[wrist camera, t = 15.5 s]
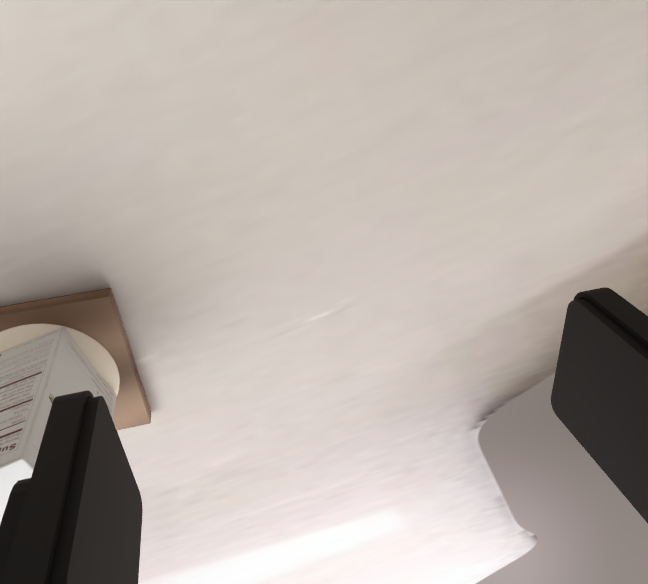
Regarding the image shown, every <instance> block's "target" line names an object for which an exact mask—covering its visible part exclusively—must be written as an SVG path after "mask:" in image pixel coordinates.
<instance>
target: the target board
mask: <svg viewBox="0 0 648 584" xmlns="http://www.w3.org/2000/svg"><path fill="white" fill-rule="evenodd" d="M62 327H65V328H66V329H67V330H68V332H69V333H70V335H71V336H72V338H73V339H74V341H75V342H76V344H77V345H78V346H79V348H80V349H81V350H82V352H83V353H84V355H85V356H86V357H87V359H88V360H89V361H90V363H91V364H92V365H93V367H94V368H95V369H96V371H97V372H98V373H99V375H100V376H101V377H102V378H103V380H104V381H105V382H106V383H107V384H108V386H109V387H110V388H111V389H112V390H113V391H114V393H115V394H116V395H117V397H116V404H115V411H114V418H113V422H114V425H115V428H116V430H121V429H125V428H130V427H135V426H140V425H144V424H149V423H150V422H151V412H150V408H149V405H148V402H147V399H146V396H145V393H144V390H143V387H142V384H141V381H140V377H139V374H138V371H137V368H136V365H135V362H134V359H133V356H132V353H131V350H130V346H129V343H128V340H127V337H126V334H125V331H124V328H123V325H122V322H121V318H120V315H119V312H118V309H117V306H116V303H115V300H114V297H113V294H112V291H111V288H109V289H103V290H97V291H92V292H86V293H80V294H74V295H68V296H63V297H57V298H51V299H45V300H39V301H34V302H28V303H22V304H16V305H11V306H5V307H0V352H2V351H5V350H8V349H10V348H12V347H15V346H17V345H20V344H22V343H25V342H27V341H29V340H32V339H34V338H37V337H39V336H42V335H44V334H46V333H49V332H51V331H54V330H57V329H59V328H62Z"/></svg>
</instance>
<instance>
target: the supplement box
mask: <svg viewBox="0 0 648 584" xmlns="http://www.w3.org/2000/svg"><path fill="white" fill-rule="evenodd" d="M87 390H88V391H90V392H91V393H92V394H93V397H97V396H103V397H104V399H105V401H106V404H107V406H108V409H109V412H110V414H111V417H112V420H113V418H114V411H115V404H116V397H117V395H116V394H115V393H114V391H113V390H112V389H111V388H110V387H109V386H108V384H107V383H106V382H105V381H104V380H103V378H102V377H101V376H100V375H99V373H98V372H97V371H96V369H95V368H94V367H93V365H92V364H91V363H90V361H89V360H88V359H87V357H86V356H85V355H84V353H83V352H82V350H81V349H80V348H79V346H78V345H77V344H76V342H75V341H74V339H73V338H72V336H71V335H70V333H69V332H68V330H67V329H66V328H65V327H62V328H59V329H57V330H54V331H51V332H49V333H46V334H44V335H42V336H39V337H37V338H34V339H32V340H29V341H27V342H25V343H22V344H20V345H17V346H15V347H12V348H10V349H8V350H5V351H2V352H0V524H1V521H2V517H3V514H4V511H5V508H6V505H7V502H8V498H9V495H10V492H11V490H12V488H13V486H14V484H15V483H16V482H17V481H18V480H23V479H28V478H31V477H32V473H33V470H34V466H35V463H36V459H37V456H38V452H39V449H40V445H41V442H42V438H43V434H44V431H45V427H46V424H47V420H48V417H49V413H50V410H51V406H52V403H53V400H54V398H55V397H57V396H62V395H67V394H72V393H77V392H82V391H87Z"/></svg>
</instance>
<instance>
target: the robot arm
mask: <svg viewBox="0 0 648 584" xmlns="http://www.w3.org/2000/svg"><path fill="white" fill-rule="evenodd" d="M551 404H552V408H553V410H554V412H555V414H556V415H557V417H558V418H559V419H560V420H561V421H562V422H563V424H564V425H565V426H566V427H567V428H568V429H569V431H570V432H571V433H572V434H573V435H574V437H575V438H576V439H577V440H578V441H579V443H580V444H581V445H582V446H583V447H584V448H585V450H586V451H587V452H588V453H589V454H590V456H591V457H592V458H593V459H594V460H595V461H596V463H597V464H598V465H599V466H600V467H601V469H602V470H603V471H604V472H605V473H606V474H607V476H608V477H609V478H610V479H611V480H612V481H613V483H614V484H615V485H616V486H617V487H618V489H619V490H620V491H621V492H622V493H623V495H624V496H625V497H626V498H627V499H628V500H629V501H630V503H631V504H632V505H633V506H634V508H635V509H636V510H637V511H638V512H639V513H640V515H641V516H642V517H643V518H644V519H645V520H646V522H647V523H648V316H646V315H645V314H644V313H642V312H641V311H640V310H638V309H637V308H636V307H634V306H633V305H632V304H630V303H629V302H628V301H626V300H625V299H624V298H622V297H621V296H620V295H618V294H617V293H616V292H614V291H613V290H611V289H609V288H599V289H594V290H589V291H584V292H580V293H578V294H577V295H576V296H575V297H574V300H573V301H571V302H570V303H569V305H568V308H567V314H566V319H565V324H564V330H563V335H562V341H561V346H560V351H559V357H558V362H557V368H556V373H555V379H554V384H553V389H552V395H551ZM141 526H142V501H141V495H140V492H139V489H138V486H137V484H136V481H135V478H134V476H133V473H132V470H131V468H130V465H129V462H128V460H127V457H126V454H125V452H124V449H123V446H122V444H121V441H120V438H119V436H118V433H117V430H116V428H115V425H114V422H113V420H112V417H111V414H110V412H109V409H108V406H107V404H106V401H105V399H104V397H103V396H97V397H93V394H92V393H91V392H90V391H88V390H87V391H82V392H77V393H72V394H67V395H62V396H57V397H55V398H54V400H53V403H52V406H51V410H50V413H49V417H48V420H47V424H46V427H45V431H44V434H43V438H42V442H41V445H40V449H39V452H38V456H37V459H36V463H35V466H34V470H33V473H32V477H31V478H28V479H23V480H18V481H17V482H16V483H15V484H14V486H13V488H12V490H11V492H10V495H9V498H8V502H7V505H6V508H5V511H4V514H3V517H2V521H1V524H0V584H138V574H139V558H140V542H141Z"/></svg>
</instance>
